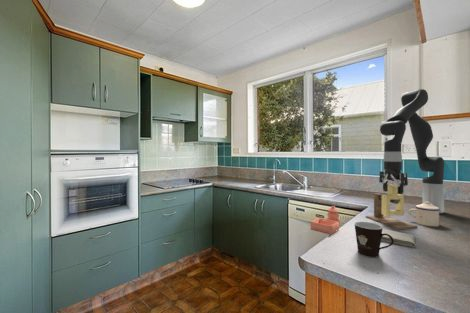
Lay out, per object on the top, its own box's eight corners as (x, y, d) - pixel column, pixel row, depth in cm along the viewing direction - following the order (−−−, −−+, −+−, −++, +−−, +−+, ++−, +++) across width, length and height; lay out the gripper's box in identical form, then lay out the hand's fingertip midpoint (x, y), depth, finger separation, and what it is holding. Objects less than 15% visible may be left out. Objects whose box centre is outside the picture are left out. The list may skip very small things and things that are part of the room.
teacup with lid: (438, 224, 111) (438, 201, 111) (441, 229, 104) (441, 204, 104) (408, 220, 119) (408, 198, 119) (408, 224, 111) (408, 201, 111)
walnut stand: (365, 218, 122) (365, 193, 122) (383, 217, 124) (382, 192, 124) (397, 230, 103) (397, 200, 103) (417, 229, 104) (417, 199, 104)
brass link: (398, 213, 114) (398, 184, 113) (403, 214, 111) (403, 185, 110) (381, 214, 112) (381, 184, 112) (386, 215, 109) (386, 185, 109)
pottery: (330, 235, 96) (330, 213, 96) (310, 230, 103) (310, 209, 103) (345, 226, 109) (345, 206, 109) (326, 222, 116) (326, 203, 116)
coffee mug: (349, 248, 82) (349, 222, 82) (371, 247, 83) (371, 221, 83) (371, 263, 71) (371, 232, 71) (396, 262, 72) (396, 231, 72)
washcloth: (365, 231, 103) (365, 224, 103) (414, 240, 92) (414, 232, 92) (361, 238, 94) (361, 231, 94) (415, 249, 83) (415, 241, 83)
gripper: (412, 161, 105) (412, 194, 105) (387, 160, 119) (387, 190, 119) (398, 161, 104) (398, 195, 104) (375, 160, 118) (375, 190, 118)
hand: (392, 192), depth 111 cm, fingers open, 8 cm apart
